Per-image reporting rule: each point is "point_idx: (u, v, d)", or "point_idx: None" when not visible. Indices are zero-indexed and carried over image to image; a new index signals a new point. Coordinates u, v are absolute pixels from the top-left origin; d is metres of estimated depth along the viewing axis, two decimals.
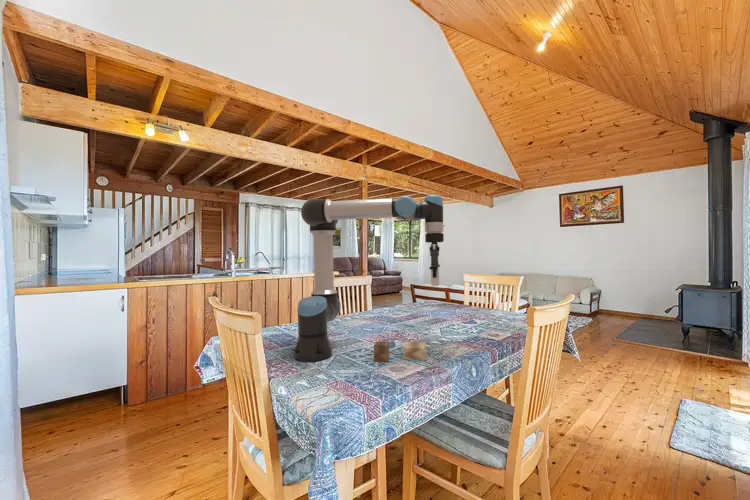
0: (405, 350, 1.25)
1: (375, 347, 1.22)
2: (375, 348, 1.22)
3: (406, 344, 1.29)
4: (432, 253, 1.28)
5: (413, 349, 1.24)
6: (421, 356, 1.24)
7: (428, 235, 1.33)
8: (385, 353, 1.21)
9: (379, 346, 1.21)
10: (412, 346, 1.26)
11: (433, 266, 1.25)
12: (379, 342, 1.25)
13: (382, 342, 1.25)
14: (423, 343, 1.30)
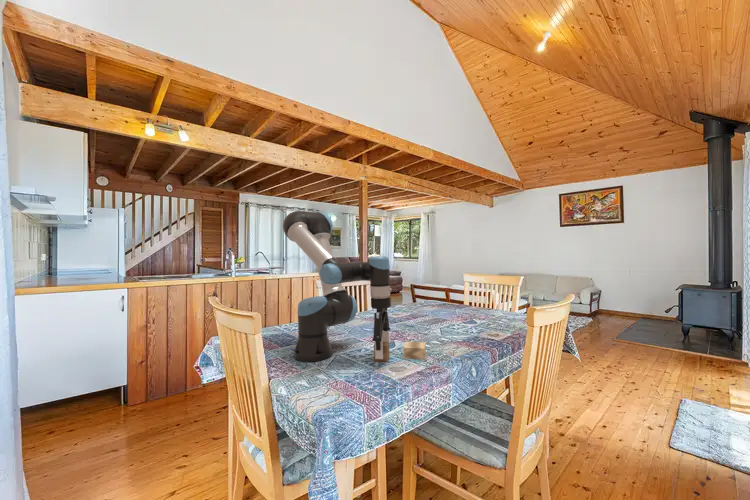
0: (405, 350, 1.25)
1: None
2: None
3: (406, 344, 1.29)
4: (375, 323, 1.16)
5: (413, 349, 1.24)
6: (421, 356, 1.24)
7: (373, 301, 1.21)
8: (385, 353, 1.21)
9: None
10: (412, 346, 1.26)
11: (375, 339, 1.14)
12: None
13: (382, 342, 1.25)
14: (423, 343, 1.30)
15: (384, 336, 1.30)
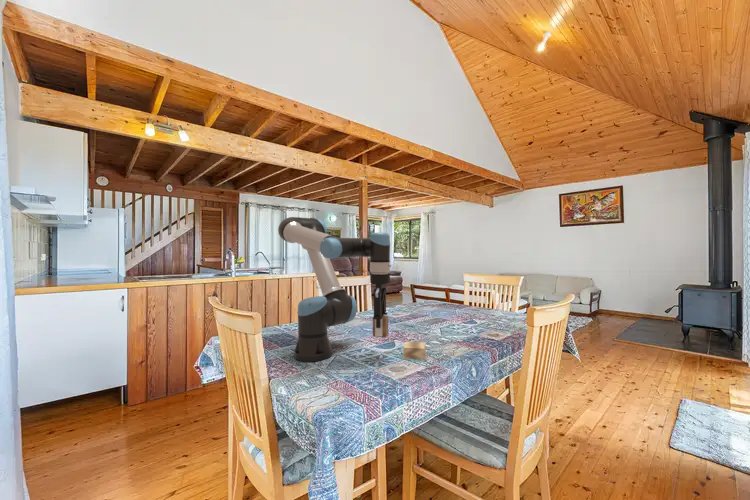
0: (405, 350, 1.25)
1: (374, 320, 1.22)
2: (374, 321, 1.22)
3: (406, 344, 1.29)
4: (375, 302, 1.18)
5: (413, 349, 1.24)
6: (421, 356, 1.24)
7: (372, 276, 1.21)
8: (384, 326, 1.21)
9: None
10: (412, 346, 1.26)
11: (376, 317, 1.18)
12: None
13: None
14: (423, 343, 1.30)
15: None
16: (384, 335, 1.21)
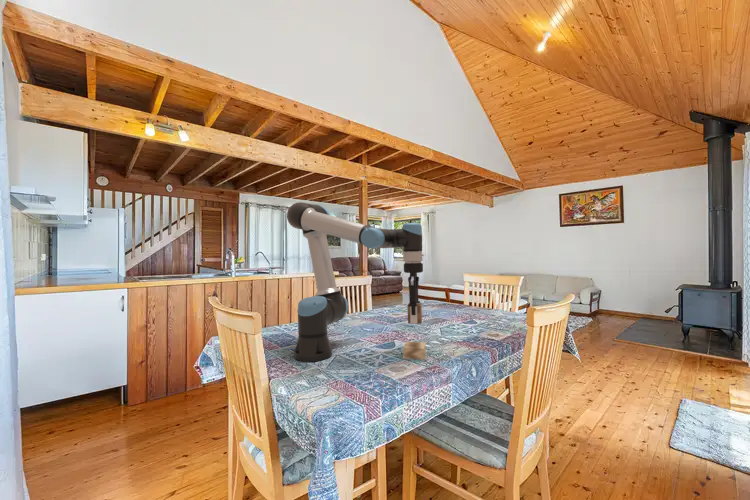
0: (405, 350, 1.25)
1: (409, 307, 1.26)
2: (409, 308, 1.26)
3: (406, 344, 1.29)
4: (410, 290, 1.22)
5: (413, 349, 1.24)
6: (421, 356, 1.24)
7: (406, 265, 1.25)
8: (419, 313, 1.25)
9: None
10: (412, 346, 1.26)
11: (411, 304, 1.22)
12: None
13: None
14: (423, 343, 1.30)
15: None
16: (419, 322, 1.25)
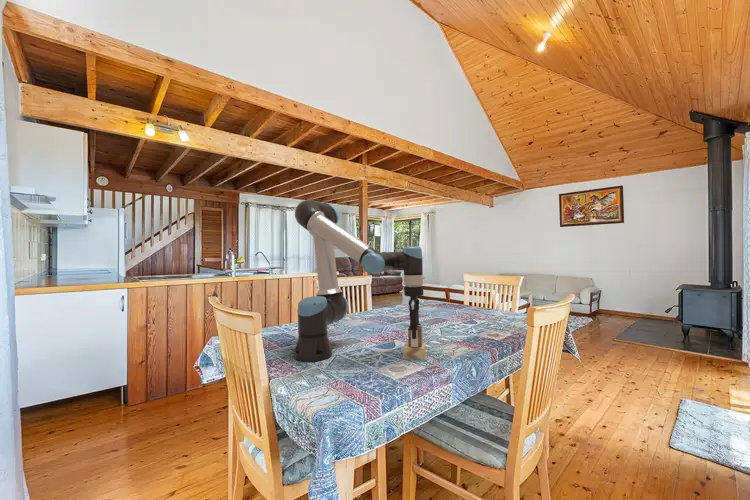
0: (405, 350, 1.25)
1: (409, 331, 1.26)
2: (409, 332, 1.26)
3: (406, 344, 1.29)
4: (411, 314, 1.22)
5: (413, 349, 1.24)
6: (421, 356, 1.24)
7: (407, 289, 1.25)
8: (419, 336, 1.25)
9: None
10: None
11: (412, 328, 1.22)
12: None
13: None
14: (423, 343, 1.30)
15: None
16: (419, 345, 1.25)
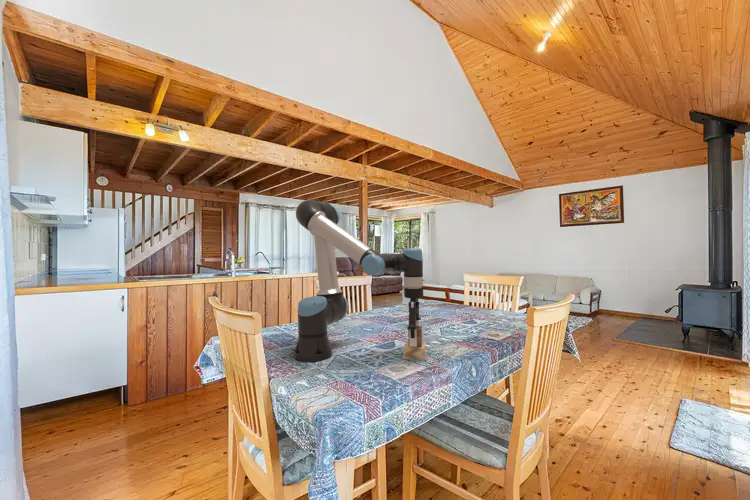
0: (405, 350, 1.25)
1: None
2: None
3: (406, 344, 1.29)
4: (410, 312, 1.20)
5: (413, 349, 1.24)
6: (421, 356, 1.24)
7: (407, 291, 1.25)
8: (419, 336, 1.25)
9: None
10: None
11: (411, 327, 1.18)
12: None
13: None
14: (423, 343, 1.30)
15: None
16: (420, 345, 1.25)
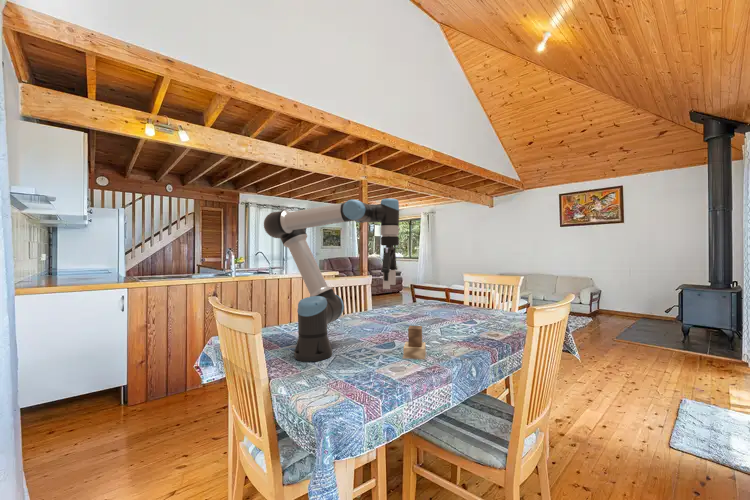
0: (405, 350, 1.25)
1: (409, 331, 1.26)
2: (409, 332, 1.26)
3: (406, 344, 1.29)
4: (384, 256, 1.28)
5: (413, 349, 1.24)
6: (421, 356, 1.24)
7: (383, 238, 1.33)
8: (419, 336, 1.25)
9: (413, 330, 1.25)
10: None
11: (384, 269, 1.26)
12: (413, 326, 1.29)
13: (415, 326, 1.29)
14: (423, 343, 1.30)
15: (391, 274, 1.42)
16: (420, 345, 1.25)
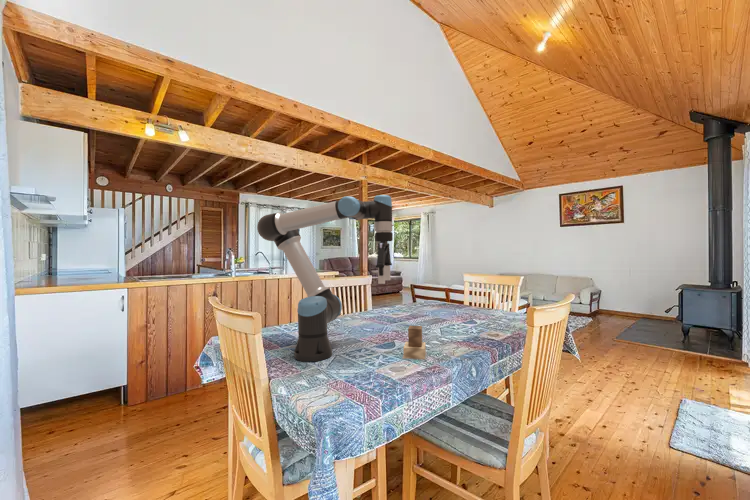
0: (405, 350, 1.25)
1: (409, 331, 1.26)
2: (409, 332, 1.26)
3: (406, 344, 1.29)
4: (379, 252, 1.31)
5: (413, 349, 1.24)
6: (421, 356, 1.24)
7: (377, 234, 1.36)
8: (419, 336, 1.25)
9: (413, 330, 1.25)
10: None
11: (379, 264, 1.28)
12: (413, 326, 1.29)
13: (415, 326, 1.29)
14: (423, 343, 1.30)
15: (386, 270, 1.45)
16: (420, 345, 1.25)
